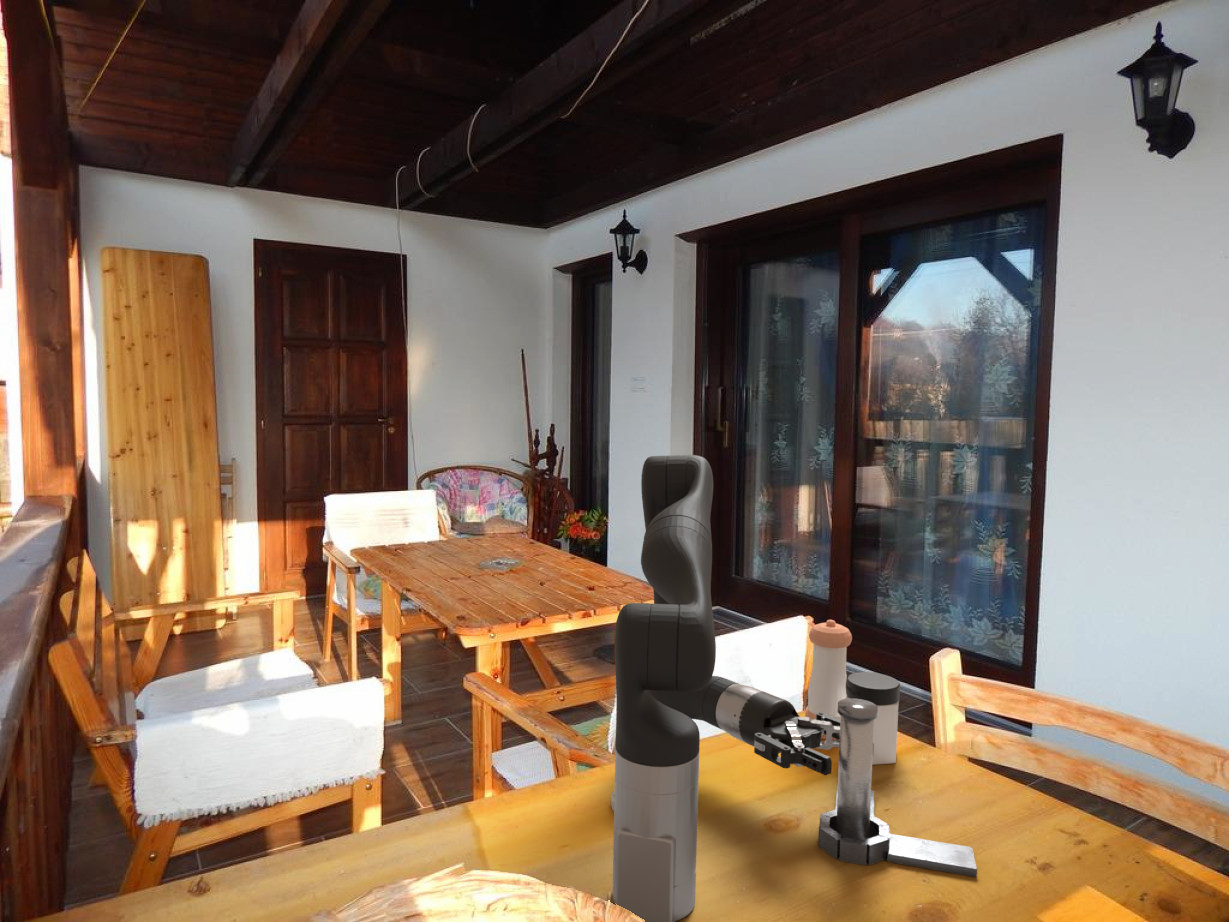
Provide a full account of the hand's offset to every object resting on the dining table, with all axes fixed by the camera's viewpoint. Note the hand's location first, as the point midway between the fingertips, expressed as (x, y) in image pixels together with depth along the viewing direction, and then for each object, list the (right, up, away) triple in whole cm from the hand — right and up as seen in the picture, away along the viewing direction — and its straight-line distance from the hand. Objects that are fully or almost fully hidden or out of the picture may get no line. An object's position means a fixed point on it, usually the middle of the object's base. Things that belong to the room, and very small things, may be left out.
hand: (851, 758), depth 102 cm
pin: (0, -11, 0) cm, 11 cm away
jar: (+11, -9, +27) cm, 31 cm away
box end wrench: (+6, -11, +3) cm, 13 cm away
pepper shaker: (+6, -9, +36) cm, 38 cm away
